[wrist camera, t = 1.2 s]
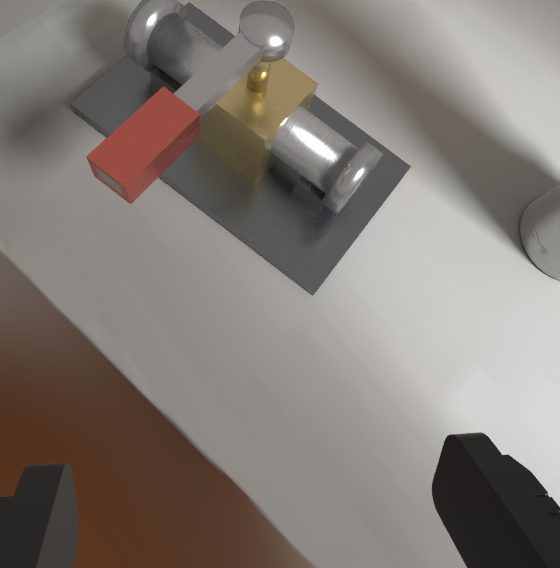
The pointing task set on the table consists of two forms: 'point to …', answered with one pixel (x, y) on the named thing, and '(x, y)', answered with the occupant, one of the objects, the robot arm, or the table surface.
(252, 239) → the valve body
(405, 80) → the table surface
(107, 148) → the valve lever
